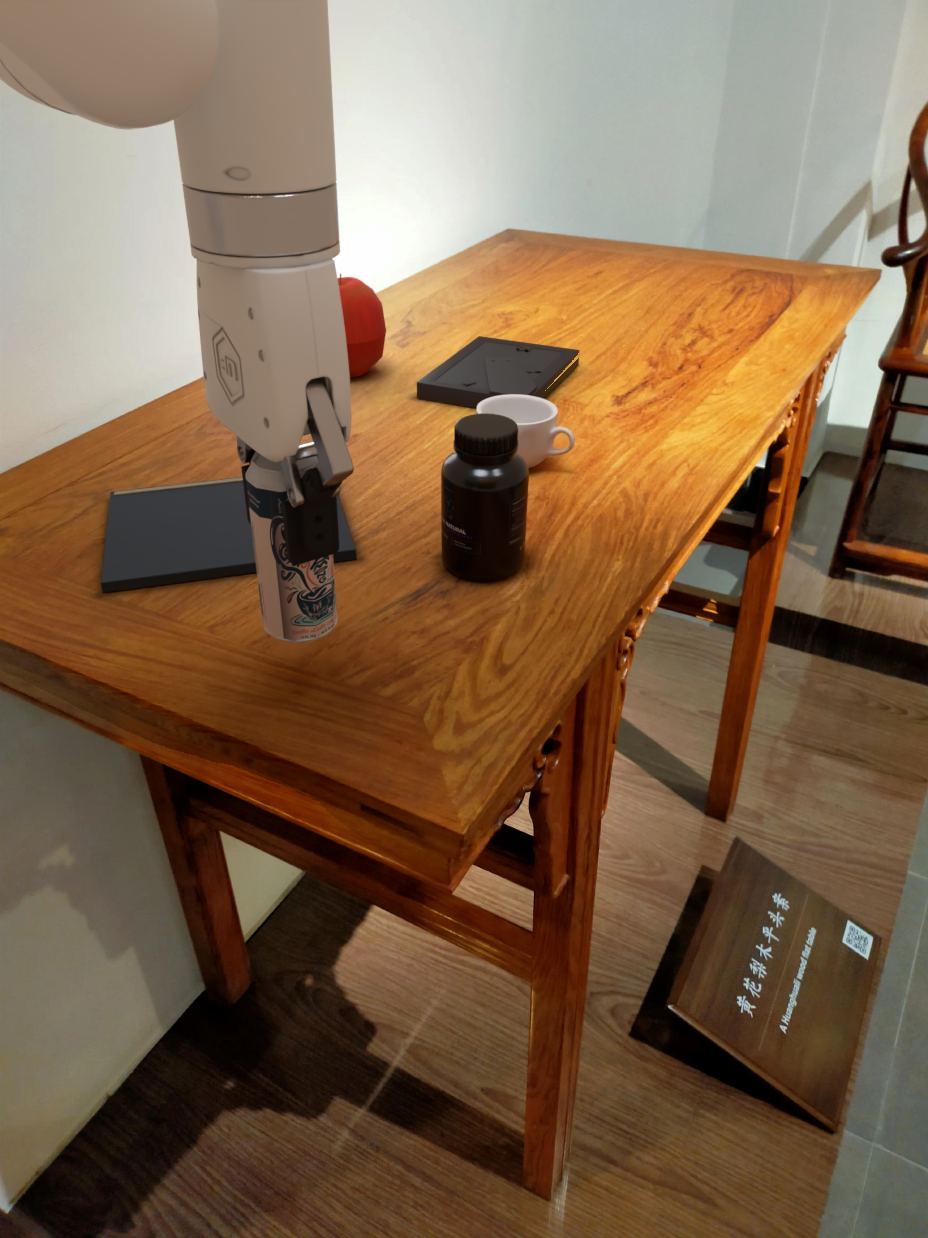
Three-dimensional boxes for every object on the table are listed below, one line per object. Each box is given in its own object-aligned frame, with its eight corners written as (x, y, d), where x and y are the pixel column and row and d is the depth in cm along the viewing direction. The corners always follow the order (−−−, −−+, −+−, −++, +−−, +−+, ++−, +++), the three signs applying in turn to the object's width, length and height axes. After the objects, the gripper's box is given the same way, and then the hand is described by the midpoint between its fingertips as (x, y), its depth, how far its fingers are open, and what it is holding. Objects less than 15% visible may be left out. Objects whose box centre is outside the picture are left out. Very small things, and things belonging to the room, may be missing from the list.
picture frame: (526, 417, 102) (578, 365, 115) (527, 397, 100) (579, 346, 114) (416, 398, 106) (478, 350, 120) (416, 379, 105) (478, 332, 118)
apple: (342, 351, 119) (335, 257, 113) (406, 367, 115) (402, 269, 108) (287, 375, 112) (276, 275, 106) (352, 392, 108) (345, 289, 101)
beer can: (300, 657, 58) (284, 482, 52) (248, 630, 61) (226, 459, 54) (353, 624, 62) (344, 454, 55) (301, 599, 64) (286, 434, 57)
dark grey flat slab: (102, 593, 73) (99, 581, 73) (112, 500, 86) (109, 490, 85) (356, 559, 77) (355, 548, 77) (330, 476, 90) (329, 465, 89)
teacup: (461, 466, 92) (461, 414, 89) (498, 438, 97) (499, 388, 94) (555, 489, 88) (558, 435, 84) (587, 458, 93) (591, 407, 90)
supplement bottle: (430, 576, 75) (426, 436, 68) (456, 535, 80) (455, 402, 74) (513, 590, 73) (518, 448, 67) (534, 547, 79) (540, 412, 72)
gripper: (135, 200, 51) (183, 500, 62) (266, 266, 40) (299, 621, 50) (261, 189, 55) (287, 474, 65) (416, 246, 43) (418, 582, 54)
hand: (292, 535), depth 57 cm, fingers closed on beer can, 4 cm apart
